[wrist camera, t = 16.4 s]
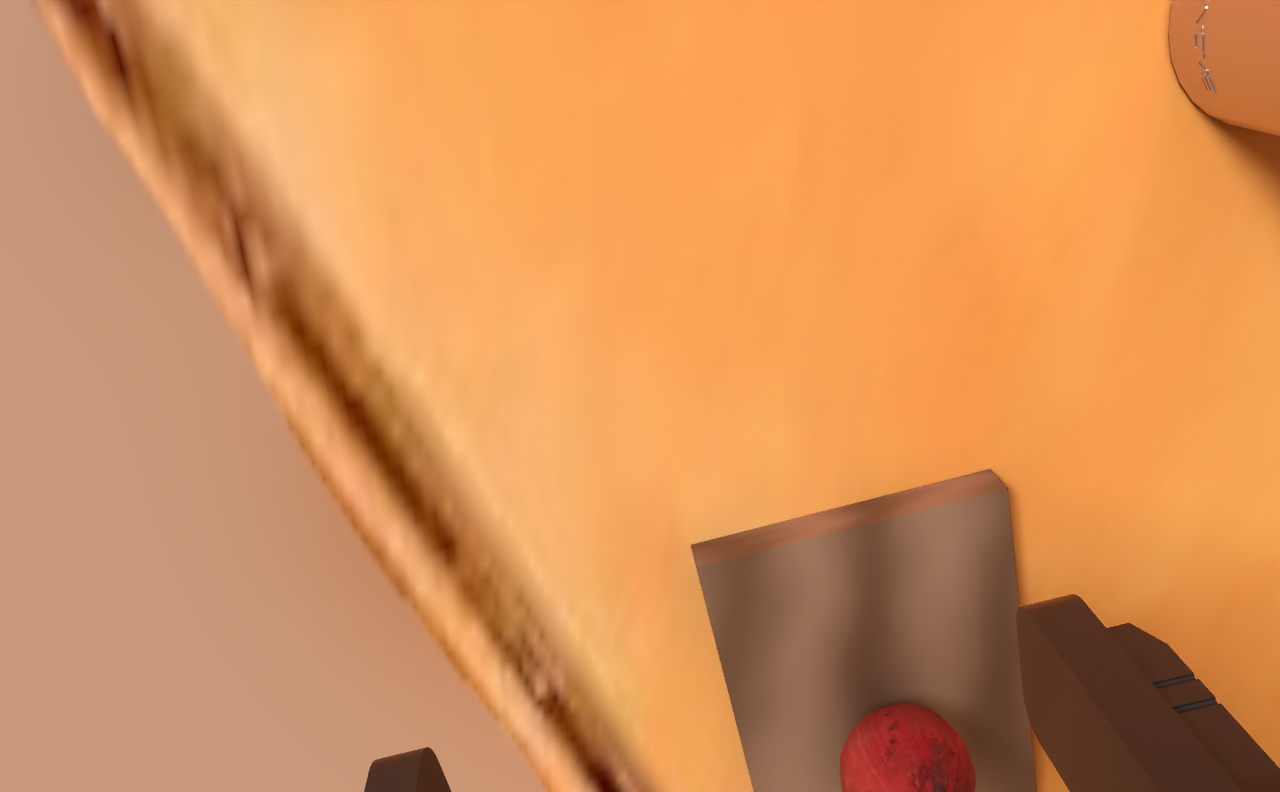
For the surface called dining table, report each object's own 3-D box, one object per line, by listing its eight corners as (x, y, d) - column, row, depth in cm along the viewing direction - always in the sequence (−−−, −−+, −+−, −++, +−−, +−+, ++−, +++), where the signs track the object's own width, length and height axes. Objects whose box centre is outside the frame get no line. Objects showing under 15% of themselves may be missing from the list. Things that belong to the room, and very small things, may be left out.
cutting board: (990, 469, 45) (1007, 488, 43) (1023, 788, 53) (1039, 815, 51) (690, 545, 45) (696, 567, 43) (769, 851, 53) (776, 880, 51)
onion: (851, 655, 46) (907, 785, 39) (960, 681, 47) (1035, 812, 40) (803, 750, 48) (849, 890, 41) (909, 772, 49) (972, 912, 42)
